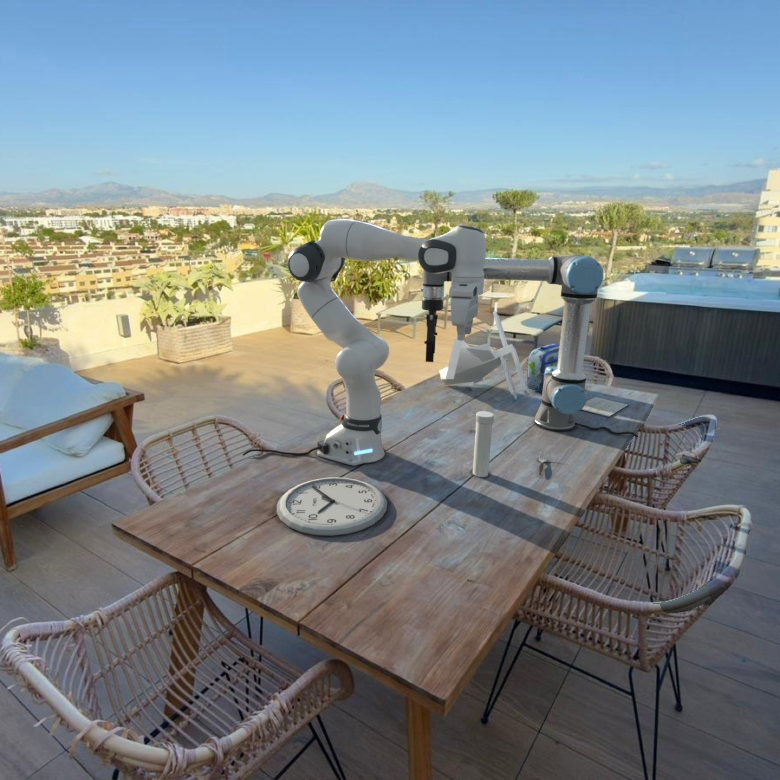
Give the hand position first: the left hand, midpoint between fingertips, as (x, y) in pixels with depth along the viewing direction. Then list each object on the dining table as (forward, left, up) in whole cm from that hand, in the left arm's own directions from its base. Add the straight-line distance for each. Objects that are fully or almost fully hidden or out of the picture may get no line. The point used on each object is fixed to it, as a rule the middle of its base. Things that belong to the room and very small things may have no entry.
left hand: (464, 336), depth 147 cm
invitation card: (+45, +88, -44) cm, 108 cm away
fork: (+24, +17, -44) cm, 53 cm away
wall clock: (-28, -29, -44) cm, 59 cm away
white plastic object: (-8, +89, -44) cm, 99 cm away
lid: (+7, +5, -24) cm, 26 cm away
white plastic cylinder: (+7, +5, -44) cm, 44 cm away
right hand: (-19, +35, -16) cm, 43 cm away
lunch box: (+21, +107, -44) cm, 118 cm away
